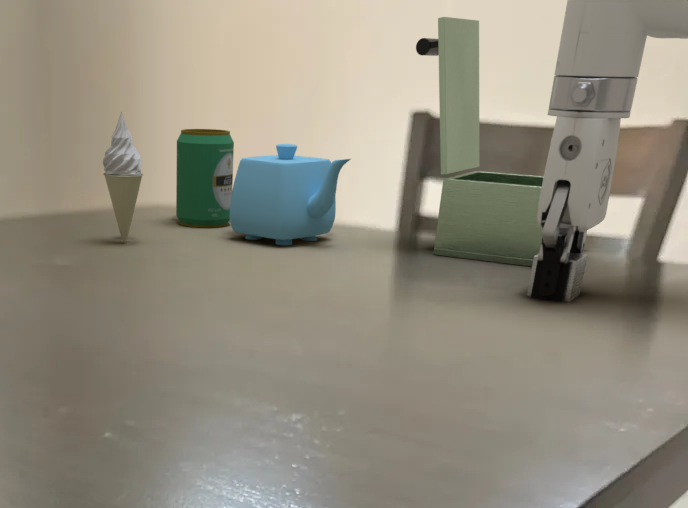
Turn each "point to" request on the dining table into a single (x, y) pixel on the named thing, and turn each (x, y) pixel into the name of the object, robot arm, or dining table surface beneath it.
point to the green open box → (490, 217)
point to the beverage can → (204, 177)
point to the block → (573, 277)
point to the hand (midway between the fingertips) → (553, 295)
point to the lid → (457, 91)
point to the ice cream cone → (123, 176)
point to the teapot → (284, 196)
